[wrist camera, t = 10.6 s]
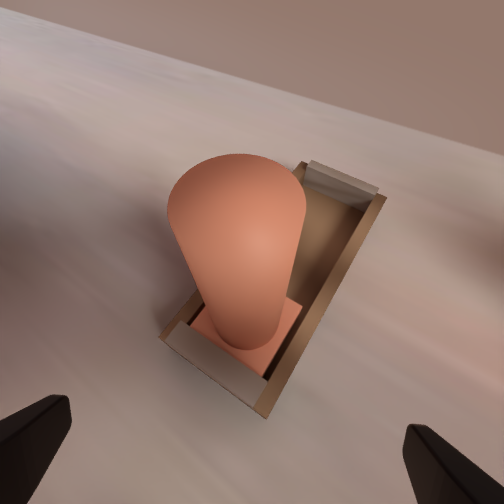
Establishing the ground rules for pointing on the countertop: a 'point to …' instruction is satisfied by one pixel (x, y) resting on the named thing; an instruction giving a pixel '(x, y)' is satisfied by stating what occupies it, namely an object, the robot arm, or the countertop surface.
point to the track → (291, 284)
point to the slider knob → (241, 251)
